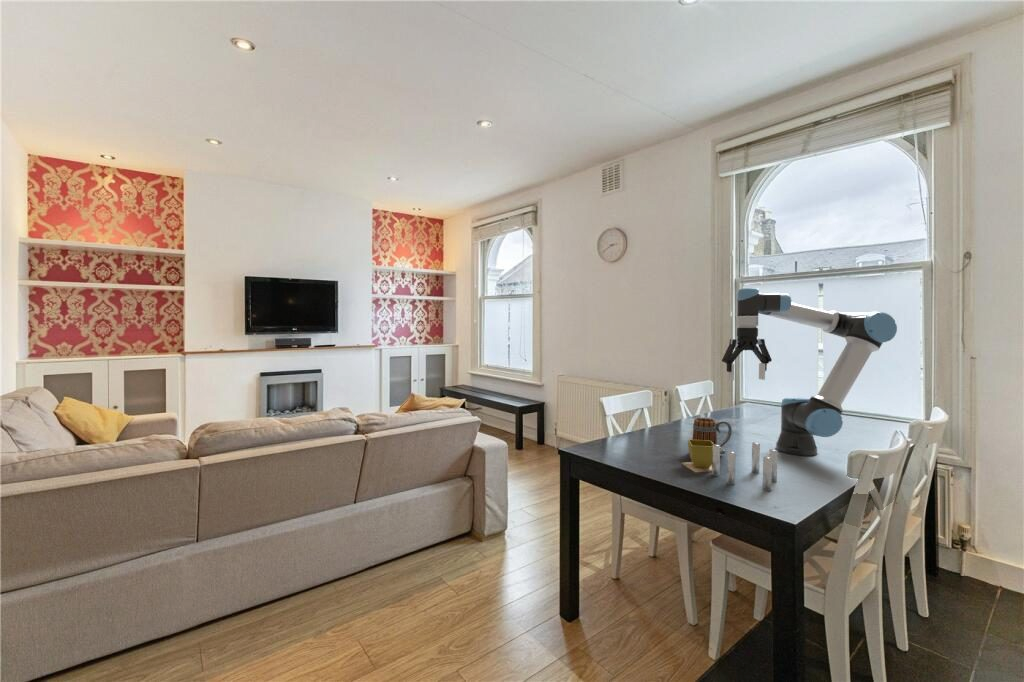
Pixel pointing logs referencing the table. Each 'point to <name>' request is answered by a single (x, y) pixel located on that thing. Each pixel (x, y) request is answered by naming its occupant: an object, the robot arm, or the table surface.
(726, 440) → the mug
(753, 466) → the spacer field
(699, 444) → the flower pot
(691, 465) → the cork mat
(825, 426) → the robot arm
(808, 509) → the table surface
